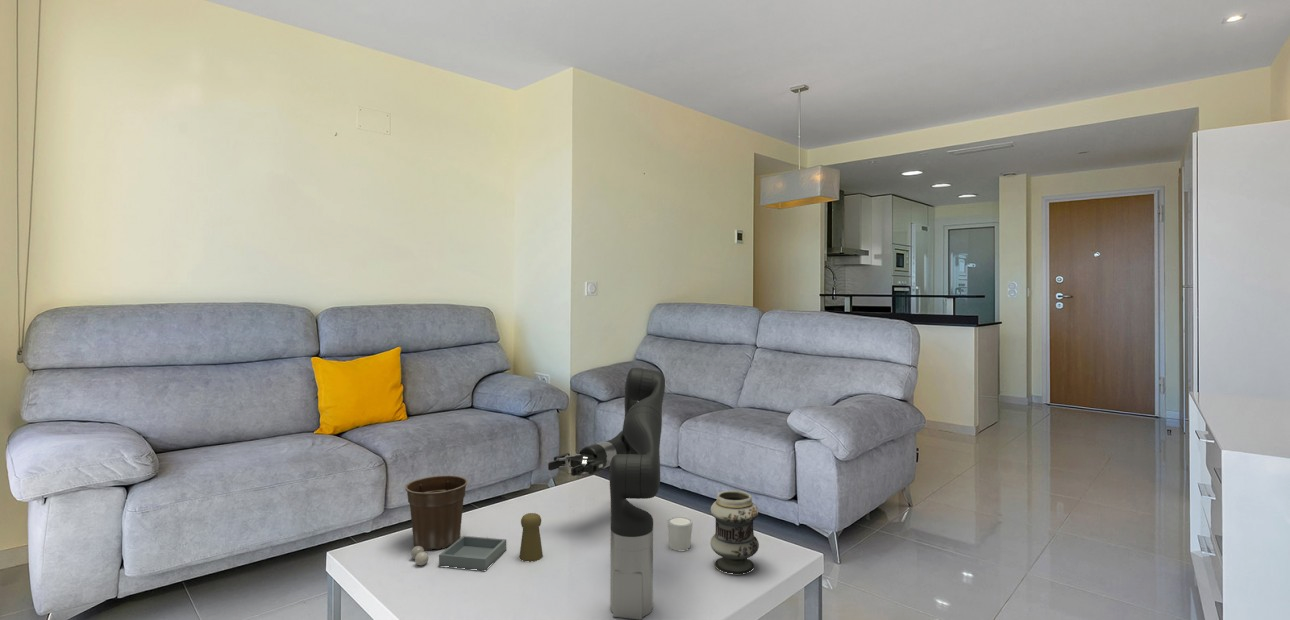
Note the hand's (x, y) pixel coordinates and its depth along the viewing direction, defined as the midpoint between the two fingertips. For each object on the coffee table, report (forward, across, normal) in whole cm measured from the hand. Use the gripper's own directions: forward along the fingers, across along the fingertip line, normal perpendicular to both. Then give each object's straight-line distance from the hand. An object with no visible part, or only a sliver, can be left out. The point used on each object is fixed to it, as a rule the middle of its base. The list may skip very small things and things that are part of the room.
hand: (560, 469), depth 163 cm
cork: (+11, 0, +20) cm, 23 cm away
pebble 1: (+29, -23, +20) cm, 42 cm away
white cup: (-16, +28, +20) cm, 39 cm away
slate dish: (+21, -11, +20) cm, 31 cm away
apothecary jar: (-14, +46, +20) cm, 52 cm away
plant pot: (+19, -28, +20) cm, 40 cm away
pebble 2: (+30, -19, +20) cm, 41 cm away
